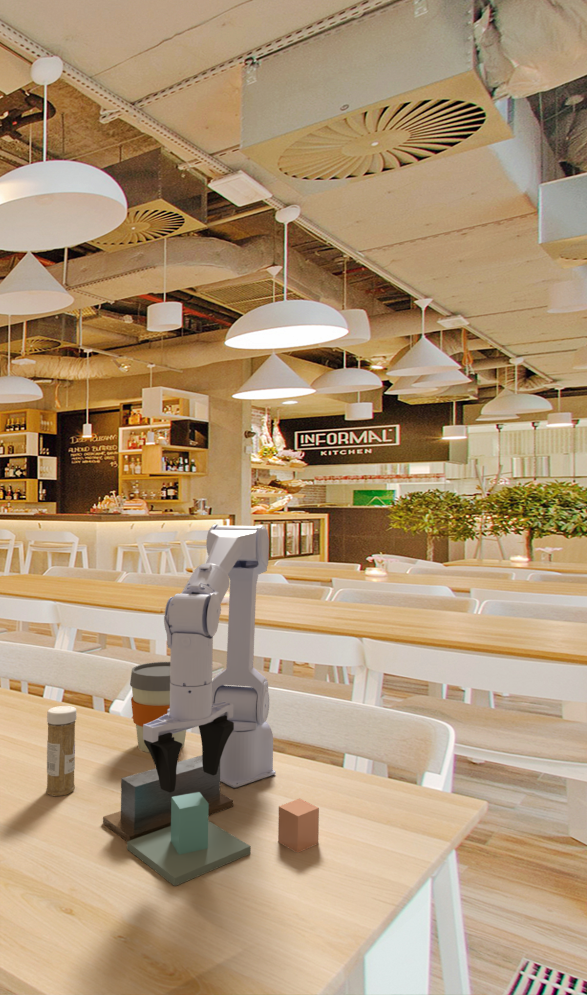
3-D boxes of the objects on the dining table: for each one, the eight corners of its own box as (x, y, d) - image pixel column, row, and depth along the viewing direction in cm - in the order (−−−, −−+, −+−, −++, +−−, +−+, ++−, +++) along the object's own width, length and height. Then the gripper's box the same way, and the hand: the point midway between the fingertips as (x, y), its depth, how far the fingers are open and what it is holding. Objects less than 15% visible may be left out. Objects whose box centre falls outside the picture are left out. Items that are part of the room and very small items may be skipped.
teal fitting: (198, 835, 94) (199, 791, 94) (207, 848, 90) (208, 803, 90) (170, 841, 92) (171, 796, 92) (178, 854, 88) (179, 808, 88)
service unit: (203, 790, 111) (204, 747, 111) (233, 806, 105) (233, 761, 105) (103, 823, 99) (103, 775, 99) (129, 843, 93) (130, 793, 93)
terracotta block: (299, 833, 97) (299, 798, 97) (318, 843, 94) (318, 807, 94) (278, 842, 94) (278, 806, 94) (297, 853, 91) (298, 816, 91)
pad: (199, 822, 100) (199, 815, 100) (250, 853, 91) (250, 846, 91) (126, 849, 92) (127, 841, 92) (174, 886, 83) (175, 877, 83)
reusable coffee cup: (197, 753, 128) (199, 674, 128) (130, 759, 124) (131, 678, 124) (189, 732, 140) (190, 660, 140) (127, 737, 136) (128, 663, 136)
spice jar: (78, 793, 109) (79, 710, 109) (49, 799, 107) (51, 714, 107) (70, 783, 113) (72, 703, 113) (42, 789, 110) (44, 707, 111)
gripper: (210, 667, 100) (208, 759, 100) (129, 686, 89) (127, 789, 89) (244, 675, 95) (242, 771, 95) (163, 696, 84) (161, 805, 84)
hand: (189, 781), depth 92 cm, fingers open, 7 cm apart
